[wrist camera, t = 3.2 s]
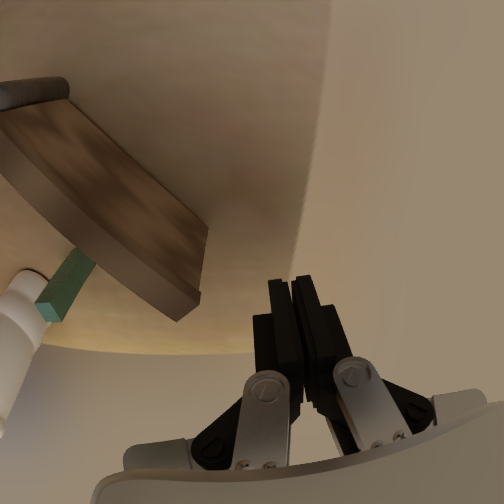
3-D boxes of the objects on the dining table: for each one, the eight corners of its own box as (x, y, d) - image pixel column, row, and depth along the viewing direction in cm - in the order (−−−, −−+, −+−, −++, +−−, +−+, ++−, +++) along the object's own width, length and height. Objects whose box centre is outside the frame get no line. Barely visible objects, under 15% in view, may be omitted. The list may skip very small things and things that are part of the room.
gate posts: (42, 82, 15) (-67, 105, 4) (68, 72, 15) (-44, 84, 5) (77, 266, 24) (23, 357, 14) (101, 266, 24) (50, 364, 14)
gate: (54, 116, 16) (-25, 143, 8) (67, 96, 15) (-14, 113, 7) (193, 241, 23) (176, 322, 15) (210, 225, 22) (199, 304, 14)
